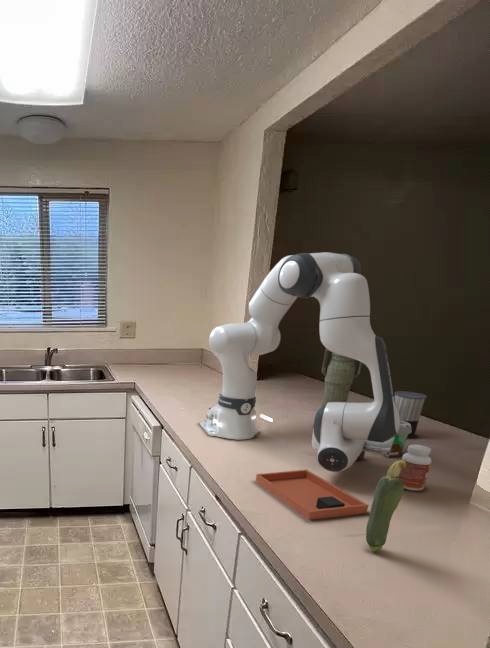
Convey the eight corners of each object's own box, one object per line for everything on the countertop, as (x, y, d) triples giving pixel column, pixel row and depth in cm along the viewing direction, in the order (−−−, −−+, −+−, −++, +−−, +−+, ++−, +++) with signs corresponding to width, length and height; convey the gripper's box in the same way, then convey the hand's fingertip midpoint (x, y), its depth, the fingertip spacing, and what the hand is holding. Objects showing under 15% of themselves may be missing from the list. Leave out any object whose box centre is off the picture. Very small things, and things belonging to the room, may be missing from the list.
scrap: (315, 507, 104) (317, 497, 103) (330, 505, 104) (332, 496, 104) (327, 515, 100) (329, 505, 99) (342, 513, 101) (344, 503, 100)
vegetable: (356, 543, 90) (378, 453, 83) (376, 542, 90) (399, 452, 83) (371, 555, 86) (395, 462, 79) (392, 554, 86) (417, 461, 79)
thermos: (309, 423, 168) (326, 331, 156) (344, 426, 164) (364, 332, 152) (312, 430, 160) (331, 333, 148) (349, 433, 157) (370, 334, 145)
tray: (255, 482, 118) (256, 474, 117) (305, 477, 121) (306, 469, 120) (308, 521, 98) (310, 511, 97) (366, 514, 101) (368, 505, 100)
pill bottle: (427, 492, 112) (439, 452, 108) (400, 489, 113) (410, 450, 110) (418, 483, 117) (429, 444, 113) (392, 480, 119) (401, 442, 115)
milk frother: (415, 433, 157) (425, 393, 152) (418, 445, 144) (430, 402, 139) (369, 426, 164) (377, 388, 159) (368, 438, 152) (377, 397, 147)
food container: (412, 460, 133) (421, 429, 129) (390, 458, 134) (398, 428, 130) (394, 446, 144) (401, 417, 140) (373, 445, 145) (380, 416, 142)
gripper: (391, 441, 115) (398, 429, 125) (309, 426, 128) (321, 416, 138) (386, 463, 117) (393, 449, 127) (305, 446, 130) (317, 435, 140)
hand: (355, 432), depth 132 cm, fingers closed on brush, 3 cm apart
